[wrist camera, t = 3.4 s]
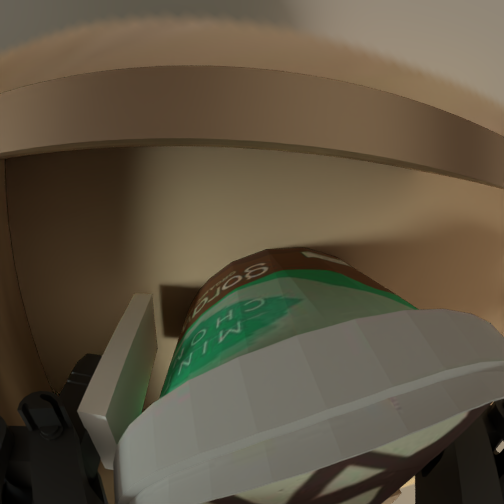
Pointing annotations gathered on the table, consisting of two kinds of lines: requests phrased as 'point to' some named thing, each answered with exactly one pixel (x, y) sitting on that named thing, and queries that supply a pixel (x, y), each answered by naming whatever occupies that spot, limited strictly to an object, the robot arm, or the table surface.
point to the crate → (215, 135)
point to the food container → (306, 389)
